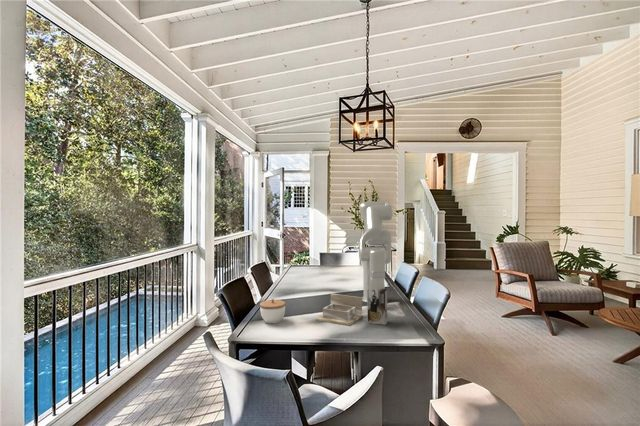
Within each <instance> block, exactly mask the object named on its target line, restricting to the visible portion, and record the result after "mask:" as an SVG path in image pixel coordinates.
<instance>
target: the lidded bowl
mask: <svg viewBox="0 0 640 426" xmlns="http://www.w3.org/2000/svg"><path fill="white" fill-rule="evenodd" d="M259 309H260V315H261V318H262V319H263V320H264V321H265V322H267V324H271V323H273V324H278V323H280V322H281V321H282V319H283V317H284V316H285V313H286V302H285V300H280V299H274V298H271V299H267V300H264V301H262V302H260V303H259Z"/></svg>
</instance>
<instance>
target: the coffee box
mask: <svg viewBox="0 0 640 426" xmlns="http://www.w3.org/2000/svg"><path fill="white" fill-rule="evenodd" d="M373 297H375V295H374V296H373ZM374 301H375V299H374ZM366 303H367V305H366V306H367V324H373V325H385V326H386V325H387V323H388V289H387V288H385V289H383V290H382V291H380V296H379V299H377V303H376V304H377V312H371V311H370V298H369V289H368V291H367V302H366Z"/></svg>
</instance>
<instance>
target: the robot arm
mask: <svg viewBox="0 0 640 426" xmlns="http://www.w3.org/2000/svg"><path fill="white" fill-rule="evenodd" d="M359 211H360V212H359V213H360V215H361V217H362V220H363V233H362V235H361V237H360V239H359V241H358V259H359V260H360V261H361V262H362V269H363V271H362V272H363V273H362V274H363V280H362V281H363V284H362V285H363V296H361V297H362V303H363V302H364V303H367V291H368V289H369V298H370V311H371V312H377V304H376V303H377V299H379V296H380V291H382V290H383V289H386V286H385V279H386V265H387V264H391V261H392V235H391V232H390V230H387V229H383V221H391V220H392V219H393V207H392V204H391V203H390V202H389V201H363V202H361V203H360V205H359ZM365 245H366V246H365ZM374 295H375V297H373V296H374ZM374 299H375V301H374Z"/></svg>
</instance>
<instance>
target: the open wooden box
mask: <svg viewBox="0 0 640 426" xmlns="http://www.w3.org/2000/svg"><path fill="white" fill-rule="evenodd" d="M362 297H363V296H361V297H360V296H354V295H345V294H338V293H330V304H329V305H326V306H325V307H323V308H322V314H321V315H319V316H317V317H316V318H315V320H316V321H319V322H324V323H325V322H326V323H331V324H335V325H341V326H347V327H349V326H350V325H352V324H354V323H355V322H357V321H359V320H360V319H361V318H362V317H363V301H362Z"/></svg>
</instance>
